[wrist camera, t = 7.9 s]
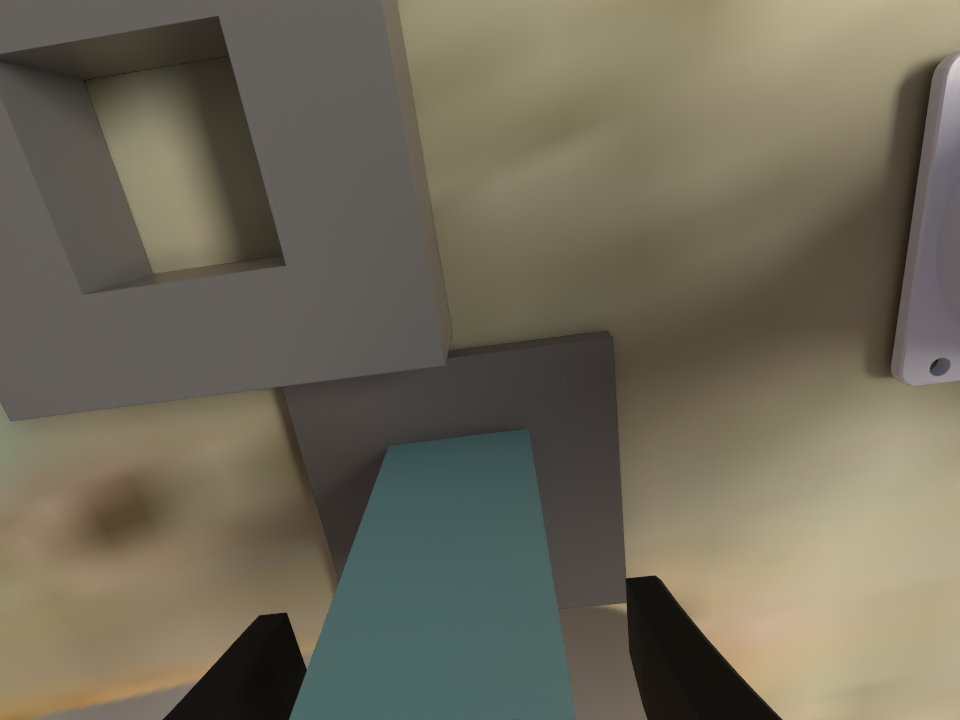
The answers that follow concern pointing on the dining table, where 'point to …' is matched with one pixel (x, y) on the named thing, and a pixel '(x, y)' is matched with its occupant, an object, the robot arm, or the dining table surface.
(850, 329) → the dining table surface
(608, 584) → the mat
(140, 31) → the socket block
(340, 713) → the plug
